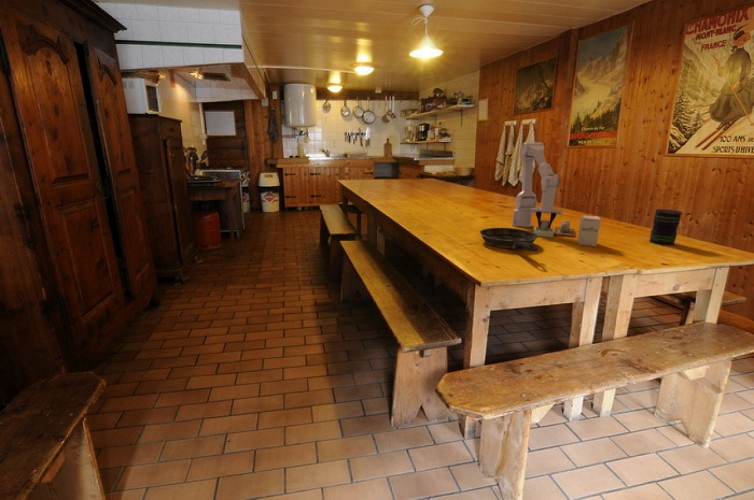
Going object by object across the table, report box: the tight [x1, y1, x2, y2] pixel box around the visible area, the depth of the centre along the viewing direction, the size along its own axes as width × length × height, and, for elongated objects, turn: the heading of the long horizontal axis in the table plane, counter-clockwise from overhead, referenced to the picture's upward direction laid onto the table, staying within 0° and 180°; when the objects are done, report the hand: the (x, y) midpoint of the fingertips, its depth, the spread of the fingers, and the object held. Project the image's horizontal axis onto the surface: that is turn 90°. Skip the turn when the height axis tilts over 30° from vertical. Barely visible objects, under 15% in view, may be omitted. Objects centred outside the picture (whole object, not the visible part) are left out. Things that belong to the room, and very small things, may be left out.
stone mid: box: [560, 222, 571, 233], centre depth 203 cm, size 4×4×4 cm
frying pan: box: [479, 227, 539, 253], centre depth 172 cm, size 44×25×7 cm, turn 179°
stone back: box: [560, 220, 571, 229], centre depth 207 cm, size 4×4×4 cm
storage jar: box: [649, 209, 682, 247], centre depth 184 cm, size 10×10×15 cm
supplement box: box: [576, 214, 602, 247], centre depth 181 cm, size 7×7×13 cm
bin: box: [532, 226, 555, 239], centre depth 199 cm, size 9×9×3 cm
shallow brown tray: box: [553, 226, 575, 238], centre depth 204 cm, size 9×16×1 cm, turn 155°
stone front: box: [540, 219, 550, 231], centre depth 198 cm, size 4×4×4 cm
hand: (544, 227), depth 198 cm, fingers closed on stone front, 4 cm apart
